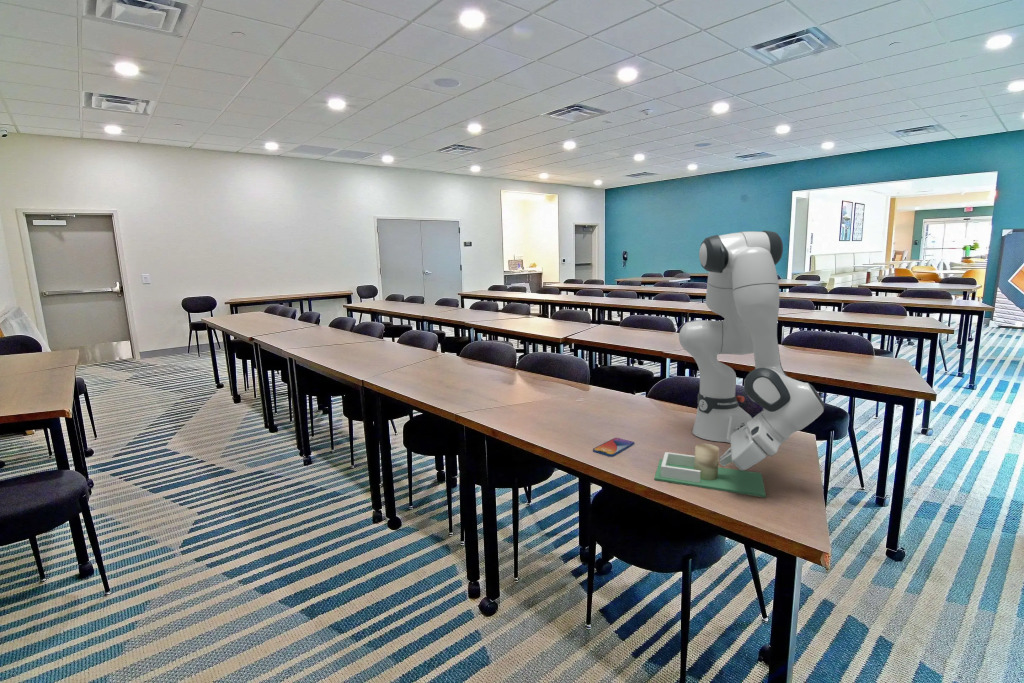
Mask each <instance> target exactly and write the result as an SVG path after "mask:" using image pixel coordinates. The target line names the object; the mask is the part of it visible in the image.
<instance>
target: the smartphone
mask: <svg viewBox="0 0 1024 683" xmlns="http://www.w3.org/2000/svg"><path fill="white" fill-rule="evenodd" d="M633 446H635V441H632V440H628V439H624V438H620V437H614V438H612V439H610V440H608V441H605V442H604V443H602V444H600V445H597V446H596V447H594V448H592V452H593V453H595V454H599V455H602V456H606V457H609V458H614V457H616V456H618V455H619V454H620V453H622V452H624V451H626V450H627V449H629V448H630V447H633Z"/></svg>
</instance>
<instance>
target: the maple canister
mask: <svg viewBox="0 0 1024 683" xmlns="http://www.w3.org/2000/svg"><path fill="white" fill-rule="evenodd" d="M694 448H695V449H694V456H695V463H694V470H700V479H703V480H715V479H717V477H718V467H719V458H720V448H719V447H718V446H717V445H714V444H710V443H698V444H696V445H695V447H694Z"/></svg>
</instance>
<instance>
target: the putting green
mask: <svg viewBox="0 0 1024 683" xmlns="http://www.w3.org/2000/svg"><path fill="white" fill-rule="evenodd" d="M694 463H695V455H691V454H683V453H677V452H670V451H669V452H668V451H665V452H664V455H663V459H662V458H660V459H659V461H658V465H657V468H656V472H655V475H654V478H653V480H654V481H656V482H657V481H658V482H664V483H670V484H676V485H683V486H690V487H695V488H696V487H697V488H702V489H710V490H715V491H722V492H728V493H735V494H740V495H746V496H747V495H748V496H753V497H759V498H761V497H762V498H766V497H767V495H766V489H765V485H764V481H763V480H764V479H763V473H761V472H758V471H757V472H756V471H748V470H742V471H741V470H740V469H733V468H728V467H727V468H726V467H722V466H721V467H719V466H718V477H717V479H715V480H703V479H700V470H694Z"/></svg>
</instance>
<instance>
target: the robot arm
mask: <svg viewBox="0 0 1024 683" xmlns="http://www.w3.org/2000/svg"><path fill="white" fill-rule="evenodd" d="M783 251H784V244H783V239H782V237H781V236H780V235H779V234H778V233H777V232H776V231H770V230H762V231H754V230H753V231H752V230H751V231H739V232H731V233H727V234H726V233H725V234H720V235H719V234H715V235H711V236H708V237H705V238H704V239H703V240H702V242H701V244H700V247H699V251H698V253H699V254H698V258H699V262H700V266H701V267H702V268H703V269H704V270H705V271H706V272H708V275H707V284H706V294H705V304H706V306H707V309H709V310H710V311H712V312H713V313H714V314H716V315H719V316H721V317H722V318H724V319H723V320H702V319H701V320H700V319H699V320H695V321H694V320H693V321H687V322H685V323H684V325H682V327H681V328H680V330H679V333H678V340H679V343H680V345H681V347H682V348H683V349H684V351H685V352H687V353H688V354H689V355H690V356H691V357H692V358H693V359H694V362H695V363H696V364H697V367H698V371H699V392H697V409H696V416H695V421H694V423H693V428H692V430H691V431H692V434H693V435H694V436H696V437H697V438H700V439H703V440H707V441H712V442H720V443H721V442H724V443H729V444H730V447H729V448H728V449H727V450H726V451H725V452H724V453H723V454H722V455H721V456H719V460H718V464H720V465H721V467H726V466H727V465H729V464H732V463H733V464H734V465H735V466H736V467H737V468H738V470H741V471H747V470H749V469H750V468H751V467H753V466H755V465H757V464H758V463H761V462H762V461H763V460H764V459H765V458H767V456H769V457H772V456H774V455H775V454H777V453H778V451H779V448H780V446H781V445H782V444H783V443H784V442H786V441H787V440H788V439H790V437H791V436H792V435H793V434H794V433H796V432H800V431H801V430H803V429H805V428H806V427H808V426H809V425H810V424H812V423H813V422H815V420H816V419H818V418H819V417H821V415H822V414H823V413H824V410H825V403H824V400H823V399H822V397H821V395H820V394H819V392H818V391H817V390H816V388H815V387H814V386H813V385H812V384H810V383H809V382H803V381H800V380H797V379H795V378H792V377H789V376H788V375H787V374H786V372H785V370H784V368H783V366H782V363H781V355H780V348H779V341H778V320H779V311H780V309H779V308H780V286H779V285H780V284H779V277H778V272H777V269H776V265H777V264H778V263H779V262H780V261H781V259H782V257H783ZM751 354H753V356H754V365H755V367H754V369H753V370H751V371H750V372H748V374H747V375H746V376H745V378H744V381H743V382H744V383H743V388H744V392H745V393H746V395H747V397H748V399H750V400H751V401H752V402H754V403H756V404H757V405H758V406H760V407H761V408H762V411H760V412H759V413H757V414H756V415H755V416H754V417H752V416H751V414H749V413H748V412H746V411H745V410H744V409H743V408H742V407H740V406H739V402H740V403H744V402H745V401H746V400H745V396H742V395H739V394H738V395H736V386H737V375H736V371H735V370H734V369H733V368H732V367H731V366H728V365H727V364H725V363H723V362H721V361H720V360H718V355H733V356H734V355H738V356H741V355H742V356H743V355H744V356H745V355H751Z"/></svg>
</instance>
